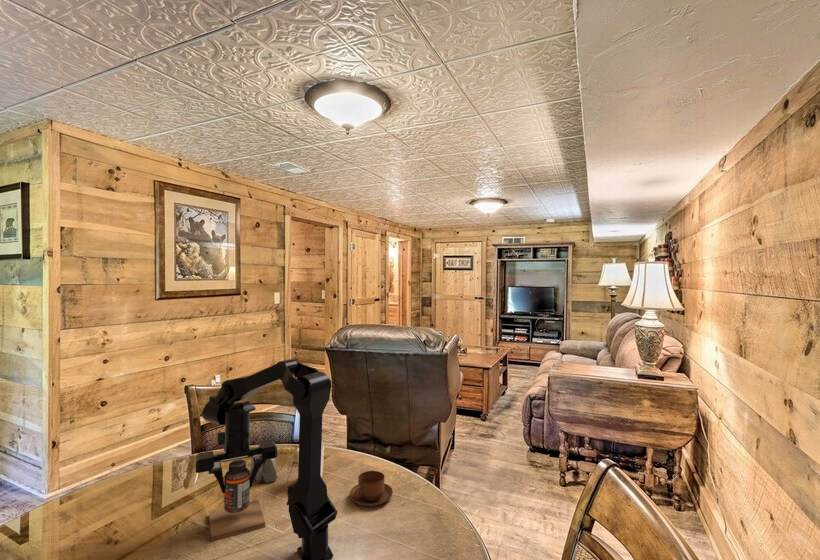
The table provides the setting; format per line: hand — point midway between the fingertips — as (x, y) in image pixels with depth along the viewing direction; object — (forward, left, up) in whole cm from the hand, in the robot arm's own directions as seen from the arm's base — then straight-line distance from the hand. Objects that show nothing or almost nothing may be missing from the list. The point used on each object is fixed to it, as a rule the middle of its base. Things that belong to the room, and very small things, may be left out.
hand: (237, 489), depth 102 cm
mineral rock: (+23, -11, -8) cm, 27 cm away
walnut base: (0, 0, -8) cm, 8 cm away
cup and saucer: (-6, -34, -8) cm, 36 cm away
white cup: (+12, -22, -8) cm, 26 cm away
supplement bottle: (0, 0, -5) cm, 5 cm away
